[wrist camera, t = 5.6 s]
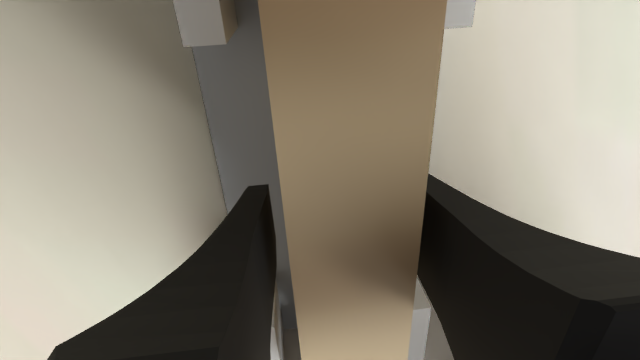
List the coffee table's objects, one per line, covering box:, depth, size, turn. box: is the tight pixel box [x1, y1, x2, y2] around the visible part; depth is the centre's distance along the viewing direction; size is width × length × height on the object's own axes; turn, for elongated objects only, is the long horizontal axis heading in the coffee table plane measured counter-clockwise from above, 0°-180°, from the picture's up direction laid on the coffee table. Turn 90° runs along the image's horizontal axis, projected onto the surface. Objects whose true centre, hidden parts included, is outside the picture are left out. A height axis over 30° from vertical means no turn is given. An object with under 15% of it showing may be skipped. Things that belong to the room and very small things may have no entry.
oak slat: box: [258, 0, 447, 360], centre depth 11 cm, size 16×3×6 cm, turn 3°
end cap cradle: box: [173, 0, 476, 360], centre depth 13 cm, size 24×8×4 cm, turn 3°
